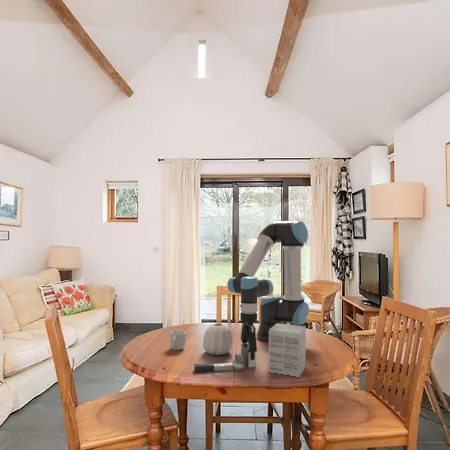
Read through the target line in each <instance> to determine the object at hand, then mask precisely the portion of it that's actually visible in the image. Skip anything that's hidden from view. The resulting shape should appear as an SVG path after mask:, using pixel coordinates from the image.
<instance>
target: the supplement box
mask: <svg viewBox="0 0 450 450" xmlns="http://www.w3.org/2000/svg"><path fill="white" fill-rule="evenodd" d="M306 328H307V327H306V326H305V325H298V324H289V323H288V324H287V323H281V324H278V323H276V324H275V325H274V326H273V327H272V328H270V329H269V342H268V362H267V363H268V365H267V367H268V368H267V369H268V370H267V371H268V373H269V372H270V374H274V373H277V374H276V375H280V374H284V375H283V376H286V375H290V376H289V377H292V376H296V377H295V378H298V377H300V378H301V376H302V374H303V372H304V371H305V369H306V348H307V347H306V342H307V341H306V338H307V337H306V334H307V333H306V332H307V331H306ZM304 368H305V369H304ZM303 370H304V371H303ZM301 373H302V374H301ZM300 375H301V376H300Z"/></svg>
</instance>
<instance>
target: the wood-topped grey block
mask: <svg viewBox="0 0 450 450" xmlns="http://www.w3.org/2000/svg"><path fill="white" fill-rule="evenodd" d="M252 349H254V348H252ZM248 350H249V344H242V343H241V345H240V353H241V355H242V361H243V362H244V366H248V359H249V352H248ZM256 353H257V352H255V358H256V355H257V354H256Z"/></svg>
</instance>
